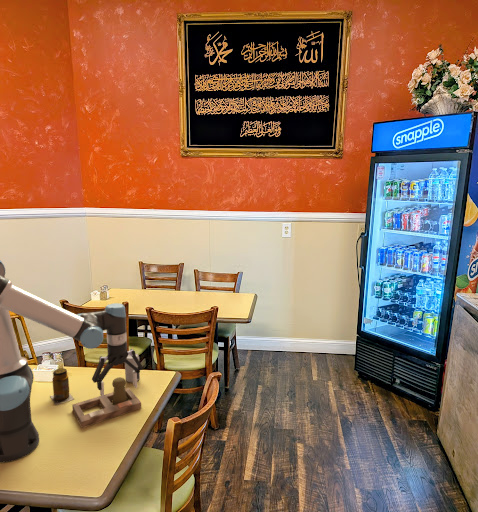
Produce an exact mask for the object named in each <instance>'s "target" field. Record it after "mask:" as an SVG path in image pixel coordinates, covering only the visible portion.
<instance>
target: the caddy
mask: <svg viewBox="0 0 478 512" xmlns="http://www.w3.org/2000/svg"><path fill="white" fill-rule="evenodd" d="M125 392H126V397H127V401H125V402H122V403H119V404H117V405H114V406H113V405H112V404H113V393H114V391H113V392H110V393H107V394H104V398H102V397H101V395H99V396H96V397H93V398H90V399H87V400H83V401H80V402H77V403H72V404H71V405H72V411H73V414H74V415H75V417H76V419H77V421H78V423H79V425H80V427H81V429H82V428H87V427H88V426H92V425H95V424H98V423H101V422H104V421H107V420H110V419H113V418H116V417H119V416H123V415H124V414H127V413H130V412H134V411H136V410H139V409H142V401H141V400H140V399H139V398H138V397H137V396H136V395H135V393H134V392H133V391H132V389H131V388H130V387H126V388H125ZM96 406H100V407H101V409H99V410H98V409H97V410H94V411H91V412H89V413H86V414H84V410H87V409H90V408H92V407H93V408H94V407H96Z"/></svg>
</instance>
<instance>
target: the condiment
mask: <svg viewBox="0 0 478 512" xmlns="http://www.w3.org/2000/svg"><path fill="white" fill-rule="evenodd" d="M69 380H70V379H69V374H68V370H67V369H66V368H64V367H63V368H56V369H55V370H54V371H52V390H53V394H52V395H50V398H51V400H52V402H53V403H54V405H55V406H56V405H61V404H64V403H68V402H70V401H72V400H75V399H74V397H73V395H72V393H70V384H69V383H70V382H69Z"/></svg>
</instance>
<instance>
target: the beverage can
mask: <svg viewBox="0 0 478 512" xmlns="http://www.w3.org/2000/svg"><path fill="white" fill-rule="evenodd" d="M135 355H136V357H137V358H138V360H139V361H140V356H139V353H137V352H135ZM126 359H127V360H128V361H129V362H131V363H132V364H133V365H134V366H135V367H138V365H137V364H136V362H135V361H134V359H133V358H132V356H130V355H128V357H127V358H126ZM124 371H125V372H124V374H125V375H124V376H125V381H127V382H128V383H132V384H133V371H135V370H134V369H132V368H131V367H130V366H129V365H128V364H126V363H125V362H124ZM140 374H141V372H140V373H139V379H137V382H138V381H139V380H140V379H141V375H140Z"/></svg>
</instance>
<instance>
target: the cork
mask: <svg viewBox="0 0 478 512" xmlns="http://www.w3.org/2000/svg"><path fill="white" fill-rule="evenodd" d="M126 385H127V384H126V378H124V377H116V378H114V379H113V380H112V387H113V392H114V393H113V401H112V405H113V406H114V405H117V404H119V403H122V402H125V401H128V398H127V397H126V392H125V389H126V388H125V386H126Z"/></svg>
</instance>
